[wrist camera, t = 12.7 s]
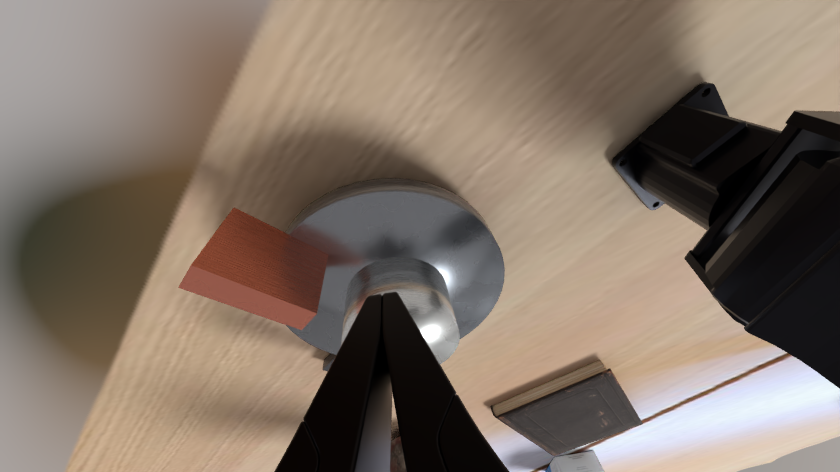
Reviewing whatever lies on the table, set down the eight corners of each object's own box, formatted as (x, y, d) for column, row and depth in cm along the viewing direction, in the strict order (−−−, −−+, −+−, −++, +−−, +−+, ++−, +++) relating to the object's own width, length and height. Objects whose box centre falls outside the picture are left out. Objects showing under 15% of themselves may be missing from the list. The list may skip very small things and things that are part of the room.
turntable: (506, 158, 18) (560, 216, 13) (488, 325, 28) (514, 397, 22) (228, 191, 17) (163, 268, 12) (311, 352, 27) (295, 433, 21)
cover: (445, 249, 19) (462, 305, 15) (447, 319, 23) (461, 376, 19) (334, 265, 19) (324, 327, 15) (357, 333, 23) (354, 394, 19)
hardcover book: (599, 353, 37) (611, 371, 35) (632, 409, 50) (642, 424, 48) (488, 402, 41) (494, 419, 40) (545, 442, 54) (551, 456, 52)
